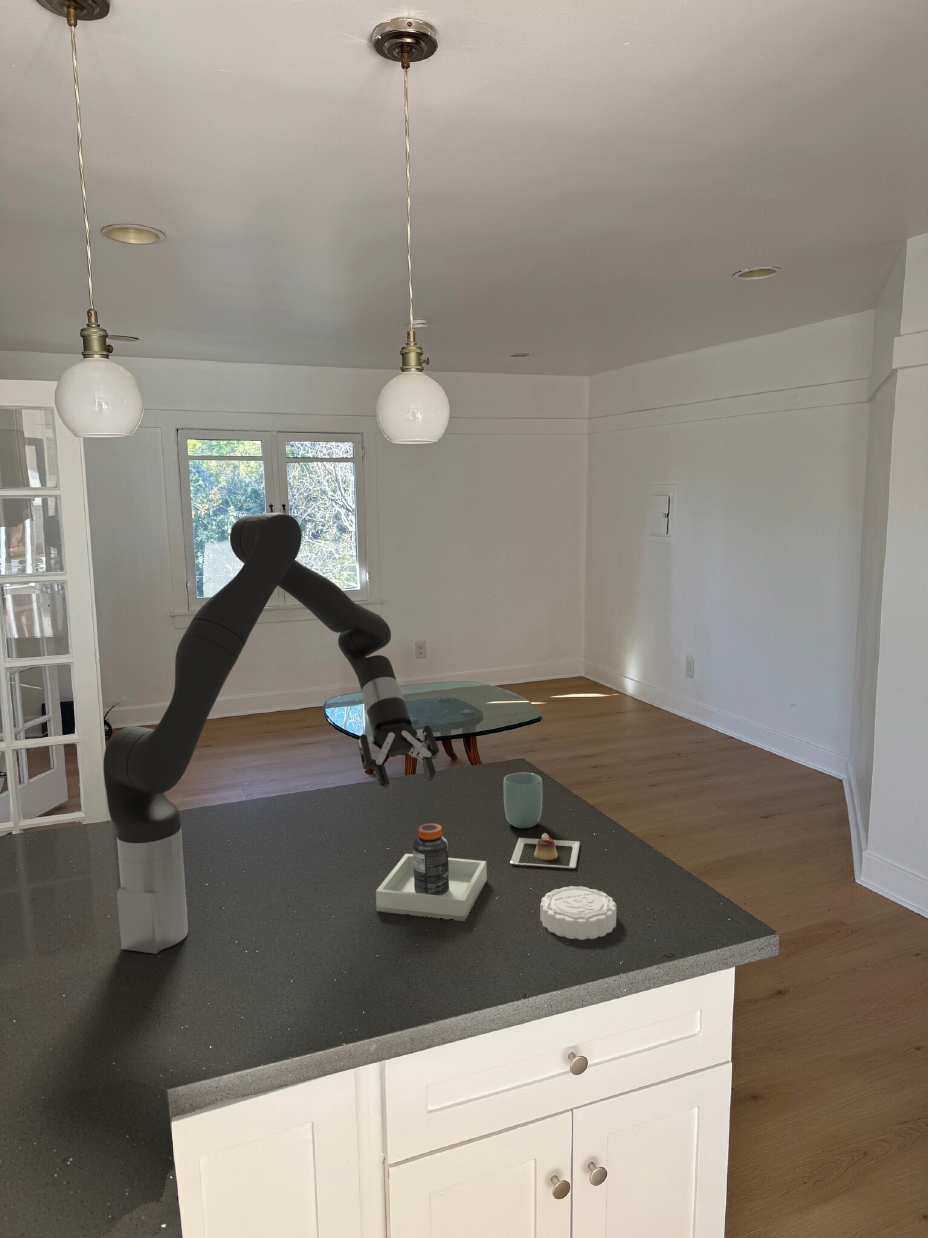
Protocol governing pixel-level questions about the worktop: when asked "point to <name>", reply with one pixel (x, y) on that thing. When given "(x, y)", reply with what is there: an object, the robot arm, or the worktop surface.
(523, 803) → the cup
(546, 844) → the dessert
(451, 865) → the tray
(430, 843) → the pill bottle
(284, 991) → the worktop surface
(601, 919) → the mooncake
